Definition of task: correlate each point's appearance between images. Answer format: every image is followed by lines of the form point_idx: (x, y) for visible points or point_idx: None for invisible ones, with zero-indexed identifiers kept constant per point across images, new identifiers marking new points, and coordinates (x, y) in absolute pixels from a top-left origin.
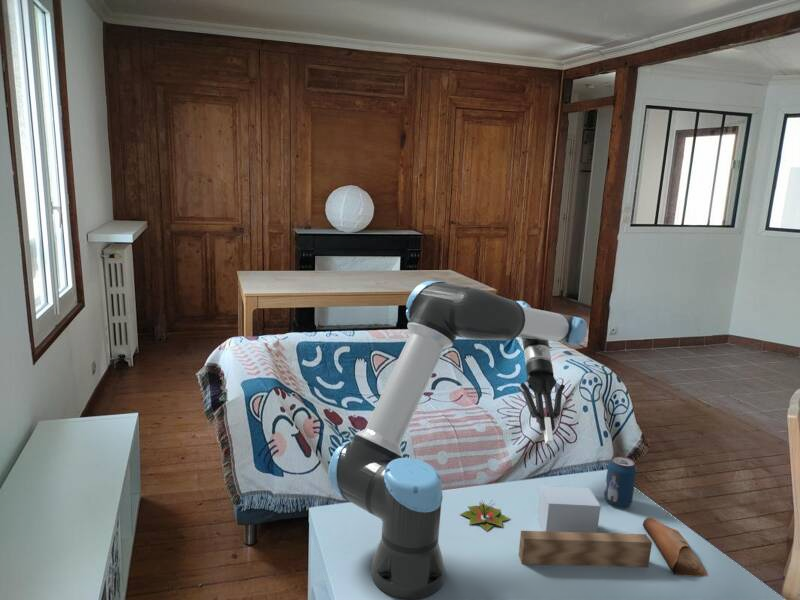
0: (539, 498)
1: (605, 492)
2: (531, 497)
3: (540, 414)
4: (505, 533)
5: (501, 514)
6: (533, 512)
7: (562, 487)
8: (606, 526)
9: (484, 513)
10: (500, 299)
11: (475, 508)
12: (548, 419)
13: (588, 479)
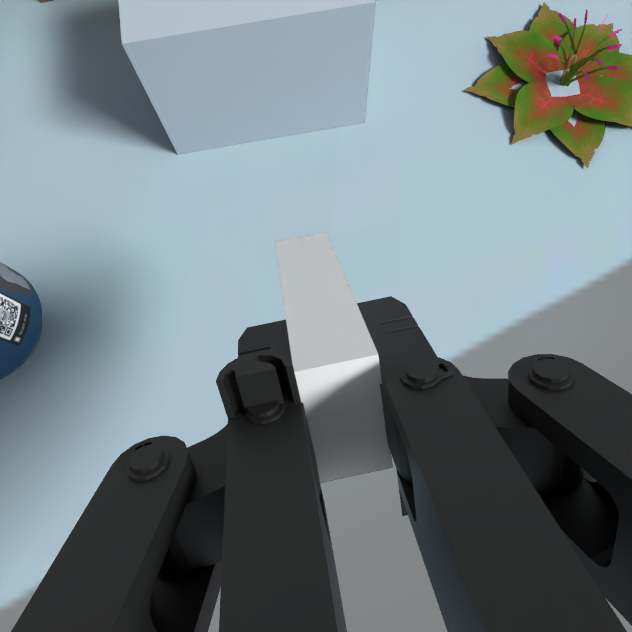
0: (370, 51)
1: (26, 306)
2: (383, 273)
3: (454, 378)
4: (477, 14)
5: (504, 103)
6: (377, 161)
7: (263, 15)
8: (103, 141)
9: (573, 70)
10: None
11: (613, 112)
12: (320, 345)
13: None
